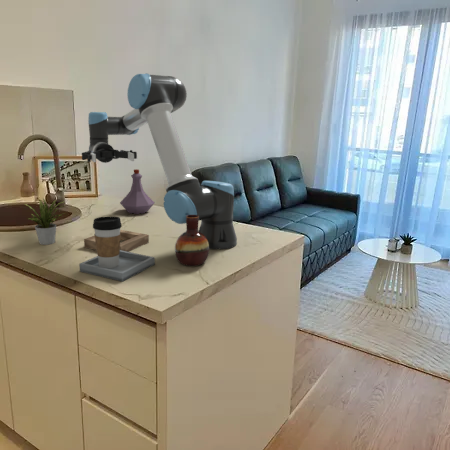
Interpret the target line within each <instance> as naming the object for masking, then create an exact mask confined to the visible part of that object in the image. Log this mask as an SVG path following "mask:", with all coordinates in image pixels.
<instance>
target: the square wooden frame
mask: <svg viewBox="0 0 450 450" xmlns="http://www.w3.org/2000/svg"><path fill="white" fill-rule="evenodd" d="M120 233H121V237H120V250H122V251H127V252H132V251H133V250H135V249H137V248H140V247H141V246H142V247H143V246H144V245H146V244H149V239H150V238H149V236H150V235H149V234H148V233H147V234H145V233H140V232H137V231H129V230H125V229H124V230H123V229H120ZM121 241H122V242H121ZM83 244H84V245H83V246H84V248H86V249H91V250H96V251H97V248H96V242H95V235H92V236H89V237H86V238H84V239H83Z"/></svg>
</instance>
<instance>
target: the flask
mask: <svg viewBox="0 0 450 450" xmlns="http://www.w3.org/2000/svg"><path fill="white" fill-rule="evenodd" d="M142 177H143V175H142V174H141V173H140V169H133V174H131V178H132V183H131V187H130V191H129V192H128V193H127V194H126V196H124V198H123V199H121V201H120V202H119V205H120V206H121V207H123V208H124V209H125V211H126V212H127V213H128V214H132V213H134V214H135V215H140V214H139V213H141V214H145V212H146V213H147V211H148V212H149V210H150V209H151V208H152V207H153V206H154V204H155V201H153V199H152V198H151V197H149V195H148V194H147V193H146V192H145V191H144V188H143V184H142V180H141V179H142ZM134 214H133V215H134Z"/></svg>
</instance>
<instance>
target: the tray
mask: <svg viewBox="0 0 450 450" xmlns="http://www.w3.org/2000/svg"><path fill="white" fill-rule="evenodd" d="M155 262H156V261H155V256H151V255H146V254H142V253H141V254H140V253H136V252H132V251H129V252H127V251H122V250H120V253H119V265H118V266H117V267H114V268H103V267H100V266H99V261H98V255H97V256H94V257H92V258H89V259H87V260H85V261H82V262H80V263H79V264H78V265H79V272H80V273H84V274H89V275H93V276H97V277H101V278H106V279H111V280H114V281H117V280H118V282H125V281H126V280H129V279H130V278H132V277H134V276H136V275H137V274H139V273H142V272H144V271H146V270H148V269H149V268H152V267H153V266H155V264H156V263H155Z"/></svg>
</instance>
